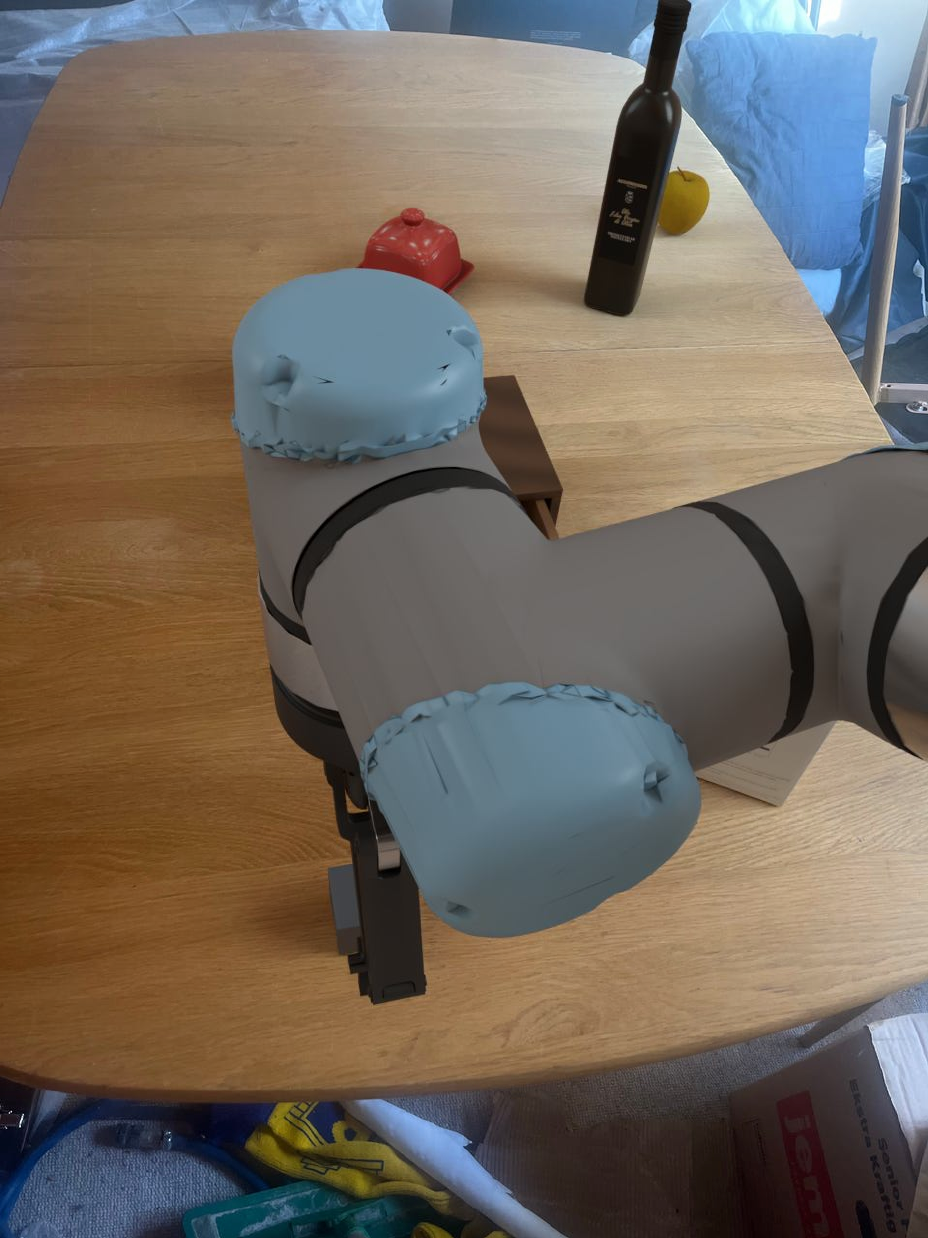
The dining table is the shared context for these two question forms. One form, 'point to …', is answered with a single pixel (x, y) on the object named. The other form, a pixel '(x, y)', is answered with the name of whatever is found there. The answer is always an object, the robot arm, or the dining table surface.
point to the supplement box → (770, 766)
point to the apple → (683, 201)
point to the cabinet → (517, 444)
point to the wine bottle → (638, 171)
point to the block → (344, 907)
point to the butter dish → (418, 251)
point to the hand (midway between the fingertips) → (363, 868)
